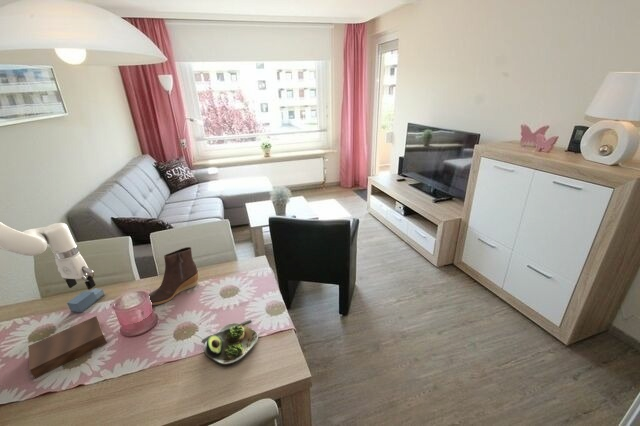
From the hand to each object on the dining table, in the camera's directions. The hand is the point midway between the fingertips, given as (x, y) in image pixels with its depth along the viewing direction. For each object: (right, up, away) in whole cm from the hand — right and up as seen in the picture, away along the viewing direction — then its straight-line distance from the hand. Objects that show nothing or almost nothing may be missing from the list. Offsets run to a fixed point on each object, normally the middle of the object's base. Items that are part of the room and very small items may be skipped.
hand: (82, 286), depth 126 cm
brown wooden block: (+12, -17, -20) cm, 29 cm away
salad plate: (+71, -15, -22) cm, 76 cm away
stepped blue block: (0, -8, +3) cm, 9 cm away
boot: (+36, -5, +7) cm, 37 cm away
